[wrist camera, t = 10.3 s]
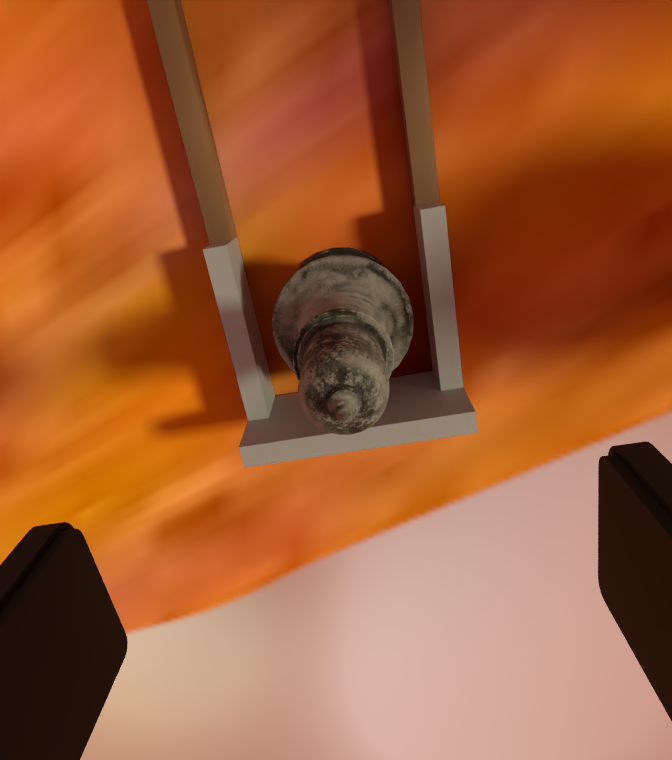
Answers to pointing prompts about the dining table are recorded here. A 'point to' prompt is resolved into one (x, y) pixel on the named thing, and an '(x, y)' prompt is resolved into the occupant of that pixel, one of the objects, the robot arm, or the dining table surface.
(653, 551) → the robot arm
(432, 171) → the channel
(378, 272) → the dark grey chess piece
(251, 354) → the socket
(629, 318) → the dining table surface
